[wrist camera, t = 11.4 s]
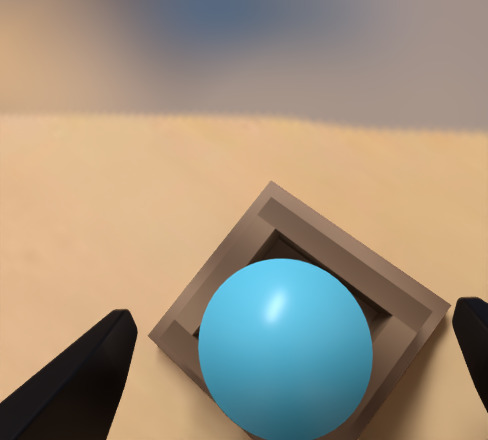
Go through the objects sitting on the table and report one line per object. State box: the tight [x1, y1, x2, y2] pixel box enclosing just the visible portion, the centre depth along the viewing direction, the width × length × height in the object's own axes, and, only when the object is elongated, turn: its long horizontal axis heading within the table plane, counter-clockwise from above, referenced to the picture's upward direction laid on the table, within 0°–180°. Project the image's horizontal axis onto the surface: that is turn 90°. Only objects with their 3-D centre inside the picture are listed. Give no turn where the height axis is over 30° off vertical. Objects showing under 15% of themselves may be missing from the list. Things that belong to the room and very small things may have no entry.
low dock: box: [148, 181, 451, 440], centre depth 15 cm, size 10×10×4 cm
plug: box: [198, 259, 373, 440], centre depth 11 cm, size 4×4×8 cm
